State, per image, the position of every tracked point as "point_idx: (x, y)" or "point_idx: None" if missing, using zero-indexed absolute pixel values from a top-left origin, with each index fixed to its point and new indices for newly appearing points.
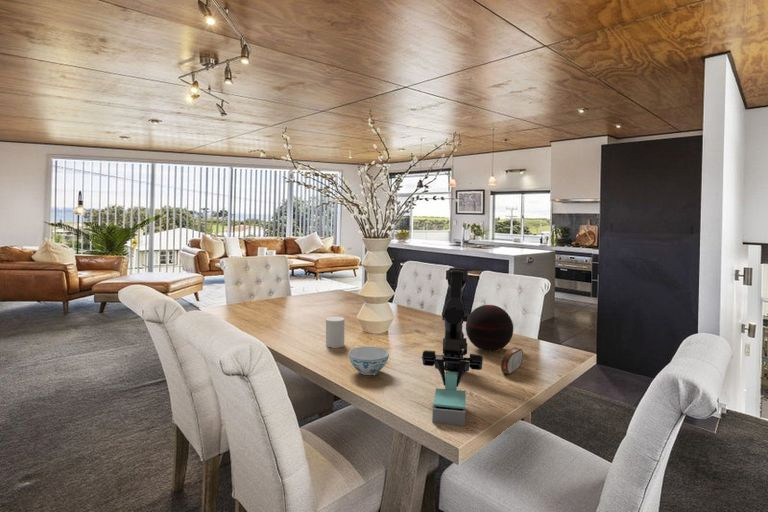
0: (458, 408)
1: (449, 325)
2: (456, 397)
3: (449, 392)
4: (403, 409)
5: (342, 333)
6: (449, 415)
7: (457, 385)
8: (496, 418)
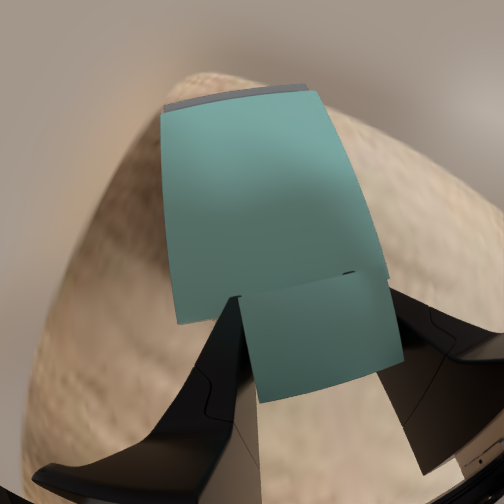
0: None
1: None
2: (220, 190)
3: (285, 248)
4: (433, 195)
5: None
6: None
7: (233, 296)
8: (72, 267)
